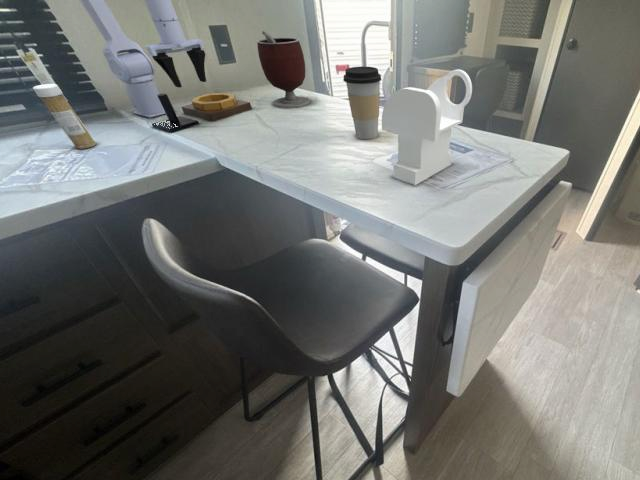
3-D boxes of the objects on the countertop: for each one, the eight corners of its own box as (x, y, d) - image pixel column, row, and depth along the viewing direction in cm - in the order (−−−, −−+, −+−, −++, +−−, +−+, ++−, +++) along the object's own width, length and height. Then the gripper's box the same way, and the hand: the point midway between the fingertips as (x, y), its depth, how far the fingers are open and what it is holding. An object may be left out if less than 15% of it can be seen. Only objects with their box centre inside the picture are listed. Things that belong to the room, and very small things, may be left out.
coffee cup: (389, 132, 88) (387, 67, 77) (373, 144, 82) (369, 75, 71) (360, 128, 91) (354, 64, 80) (343, 138, 85) (334, 71, 74)
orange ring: (186, 106, 101) (183, 99, 99) (220, 97, 108) (218, 91, 107) (211, 112, 96) (208, 105, 95) (244, 102, 103) (242, 96, 102)
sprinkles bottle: (98, 142, 84) (58, 82, 74) (95, 147, 81) (53, 86, 72) (77, 144, 83) (34, 84, 73) (73, 150, 80) (28, 88, 70)
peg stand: (153, 127, 92) (136, 96, 86) (181, 119, 98) (168, 89, 92) (171, 132, 89) (155, 100, 83) (199, 124, 94) (186, 93, 89)
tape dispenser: (421, 154, 77) (426, 64, 64) (467, 168, 71) (481, 72, 58) (383, 174, 69) (379, 76, 56) (431, 191, 64) (438, 86, 51)
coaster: (184, 113, 102) (180, 106, 100) (223, 102, 111) (221, 96, 109) (213, 121, 96) (210, 113, 95) (252, 109, 105) (250, 102, 104)
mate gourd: (281, 97, 116) (263, 25, 101) (317, 98, 114) (304, 25, 100) (262, 109, 105) (240, 30, 91) (302, 110, 104) (285, 31, 89)
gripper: (145, 23, 74) (175, 91, 83) (201, 19, 82) (222, 80, 92) (129, 22, 76) (160, 87, 86) (185, 17, 85) (207, 78, 95)
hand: (191, 84), depth 89 cm, fingers open, 7 cm apart
